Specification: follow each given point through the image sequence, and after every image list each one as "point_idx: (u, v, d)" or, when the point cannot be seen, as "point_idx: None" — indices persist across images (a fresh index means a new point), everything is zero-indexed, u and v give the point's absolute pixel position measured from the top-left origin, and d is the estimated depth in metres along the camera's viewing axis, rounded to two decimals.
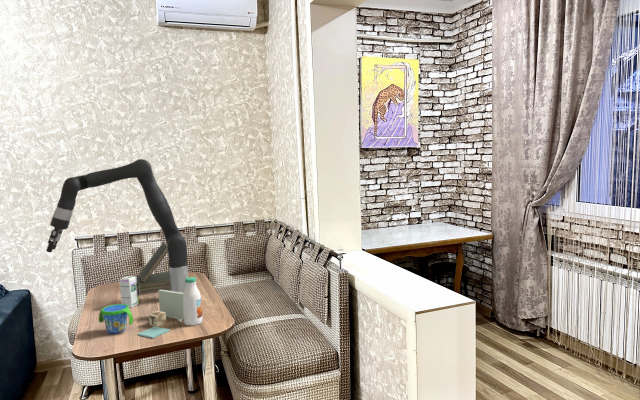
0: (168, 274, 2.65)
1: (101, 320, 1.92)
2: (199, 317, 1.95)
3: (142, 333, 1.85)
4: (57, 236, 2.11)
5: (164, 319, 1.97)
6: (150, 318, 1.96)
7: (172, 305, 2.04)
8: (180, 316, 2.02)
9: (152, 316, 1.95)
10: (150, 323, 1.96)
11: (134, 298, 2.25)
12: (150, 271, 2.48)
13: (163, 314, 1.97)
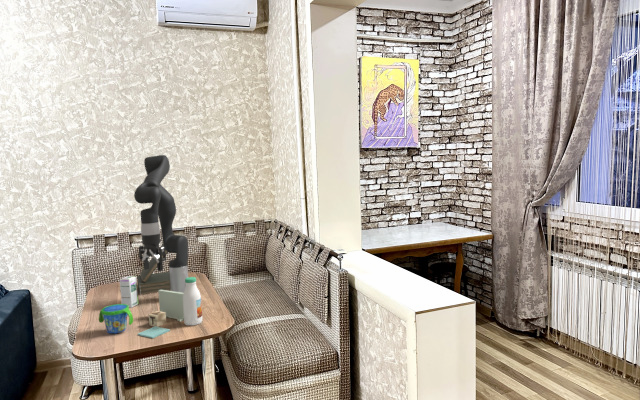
0: None
1: (101, 320, 1.92)
2: (199, 317, 1.95)
3: (142, 333, 1.85)
4: (159, 252, 1.94)
5: (164, 319, 1.97)
6: (150, 318, 1.96)
7: (172, 305, 2.04)
8: (180, 316, 2.02)
9: (152, 316, 1.95)
10: (150, 323, 1.96)
11: (134, 298, 2.25)
12: (151, 271, 2.48)
13: (163, 314, 1.97)
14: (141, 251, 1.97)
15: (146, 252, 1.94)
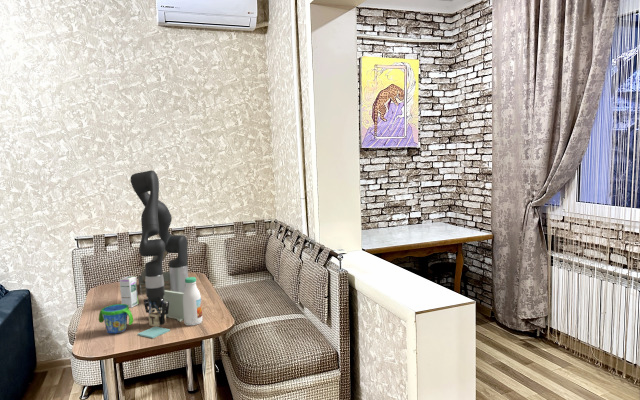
0: None
1: (101, 320, 1.92)
2: (199, 317, 1.95)
3: (142, 333, 1.85)
4: (162, 305, 1.96)
5: None
6: (150, 318, 1.96)
7: (172, 305, 2.04)
8: (180, 316, 2.02)
9: (152, 316, 1.95)
10: (150, 323, 1.96)
11: (134, 298, 2.25)
12: None
13: None
14: (146, 304, 1.99)
15: (151, 304, 1.95)
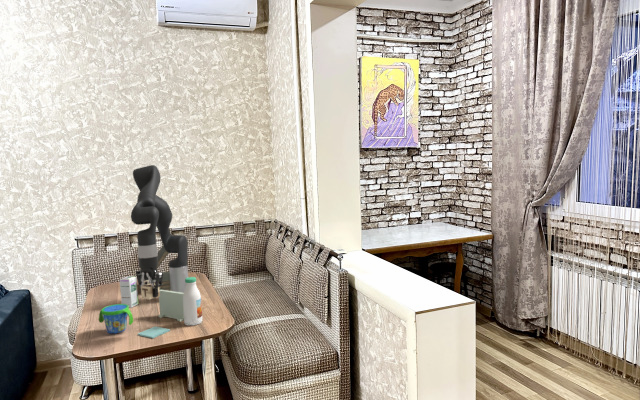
0: None
1: (101, 320, 1.92)
2: (199, 317, 1.95)
3: (142, 333, 1.85)
4: (156, 276, 1.85)
5: None
6: (142, 290, 1.84)
7: (172, 305, 2.04)
8: (180, 316, 2.02)
9: (145, 288, 1.83)
10: (142, 295, 1.84)
11: (134, 298, 2.25)
12: None
13: None
14: (139, 276, 1.87)
15: (143, 275, 1.84)
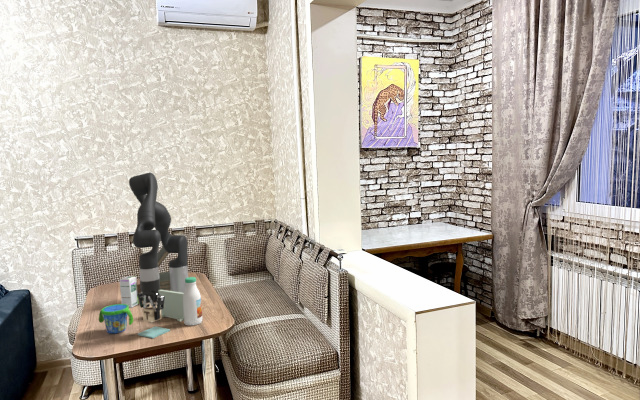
0: None
1: (101, 320, 1.92)
2: (199, 317, 1.95)
3: (142, 333, 1.85)
4: None
5: None
6: (144, 313, 1.85)
7: (172, 305, 2.04)
8: (180, 316, 2.02)
9: (146, 311, 1.84)
10: (144, 318, 1.85)
11: (134, 298, 2.25)
12: None
13: None
14: (141, 298, 1.88)
15: (145, 298, 1.85)
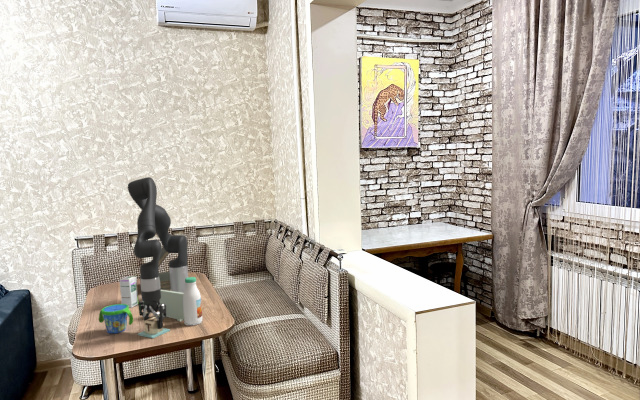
0: None
1: (101, 320, 1.92)
2: (199, 317, 1.95)
3: (142, 333, 1.85)
4: None
5: None
6: (146, 325, 1.85)
7: (172, 305, 2.04)
8: (180, 316, 2.02)
9: (148, 323, 1.84)
10: (146, 330, 1.86)
11: (134, 298, 2.25)
12: None
13: None
14: (141, 307, 1.88)
15: (146, 308, 1.85)
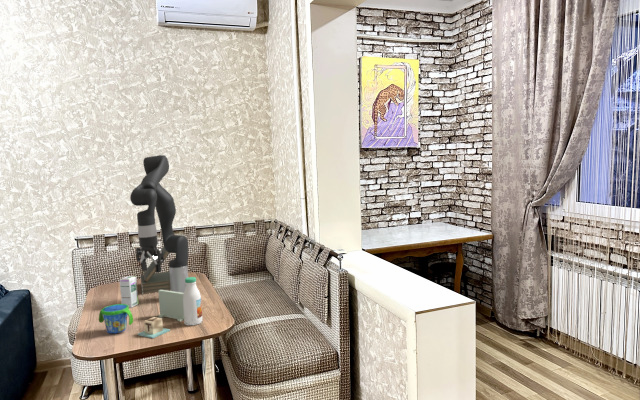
0: None
1: (101, 320, 1.92)
2: (199, 317, 1.95)
3: (142, 333, 1.85)
4: (156, 254, 1.96)
5: (161, 326, 1.87)
6: (146, 325, 1.85)
7: (172, 305, 2.04)
8: (180, 316, 2.02)
9: (148, 323, 1.84)
10: (146, 330, 1.86)
11: (134, 298, 2.25)
12: (153, 270, 2.49)
13: (159, 321, 1.87)
14: (138, 253, 1.98)
15: (144, 254, 1.95)
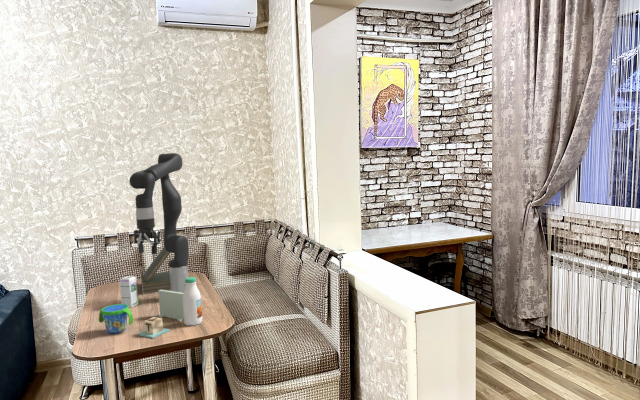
0: None
1: (101, 320, 1.92)
2: (199, 317, 1.95)
3: (142, 333, 1.85)
4: None
5: (161, 326, 1.87)
6: (146, 325, 1.85)
7: (172, 305, 2.04)
8: (180, 316, 2.02)
9: (148, 323, 1.84)
10: (146, 330, 1.86)
11: (134, 298, 2.25)
12: (153, 270, 2.49)
13: (159, 321, 1.87)
14: (136, 235, 2.04)
15: (141, 236, 2.01)
